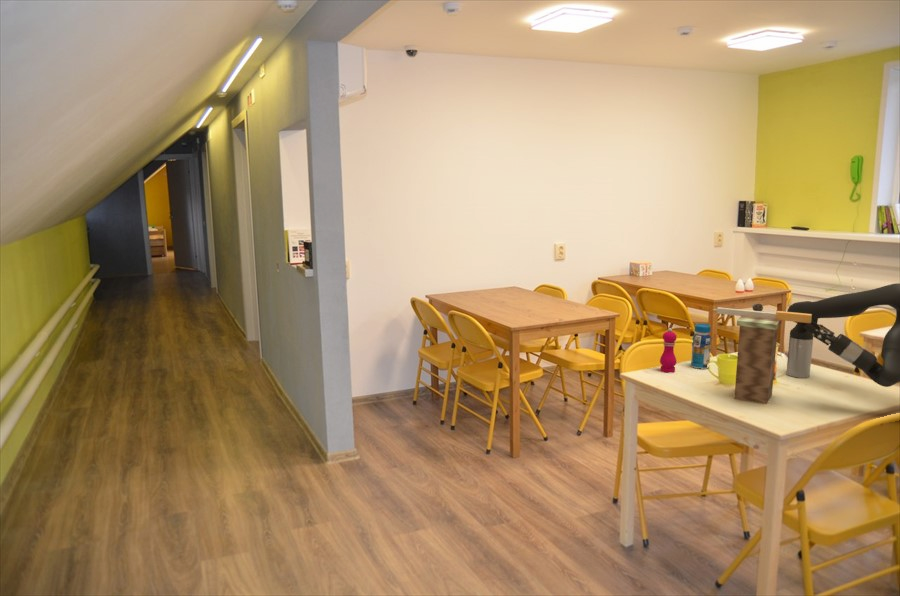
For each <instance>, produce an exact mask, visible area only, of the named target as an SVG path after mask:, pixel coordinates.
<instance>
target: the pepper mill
mask: <svg viewBox="0 0 900 596" xmlns="http://www.w3.org/2000/svg"><path fill="white" fill-rule="evenodd" d="M662 340H663V348H664V349H663V353H662V354H661V356H660V359H659V363H660V371H661V372H664V373H668V372H672V373H675V371H676V367H675V366H676V365H677V357H676V355H675V351H674V348H675V346H676V340H677V334H676V333H675V332H674V331H673V329H672V328H671V327H668V328H667V331H665V332H664V333H663V334H662Z"/></svg>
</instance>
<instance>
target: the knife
mask: <svg viewBox="0 0 900 596" xmlns="http://www.w3.org/2000/svg"><path fill="white" fill-rule="evenodd" d="M712 312H716V314H718V315H727V316H728V315H729V316H738V317H741V316H746V317H756V318H766V319H776V320H782V321H785V322H793V323H795V322H803V323H811V318H812V314H805V313H794V312H787V311H782V310H777V311H776V312H769V311H764V312H761V311H754V310H750V309H747V310H746V309H738V308H727V307H719V306H718V307H717V308H713V309H712Z"/></svg>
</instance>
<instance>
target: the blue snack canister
mask: <svg viewBox="0 0 900 596" xmlns="http://www.w3.org/2000/svg"><path fill="white" fill-rule="evenodd" d="M711 328H712V327H711V325H710V324H709V323H708V324H707V323H696V324H695V325H694V332H695V333H694V334H693V336H692V342H691V360H690V366H691V367H692V368H693V367H695V368H694V369H697V368H701V369H700V370H707V364H708V363H710V362H711V361H710V360H711V348H712V338H711V336H710V333H711Z"/></svg>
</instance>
